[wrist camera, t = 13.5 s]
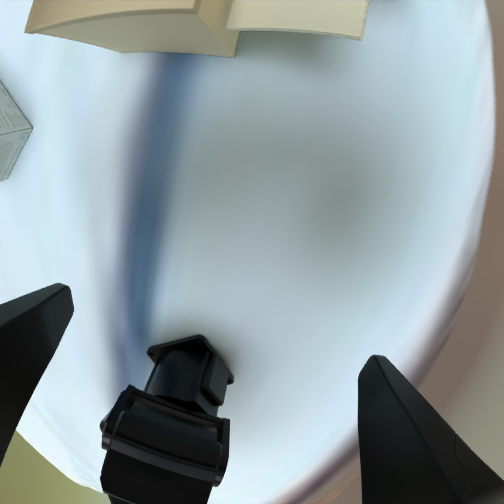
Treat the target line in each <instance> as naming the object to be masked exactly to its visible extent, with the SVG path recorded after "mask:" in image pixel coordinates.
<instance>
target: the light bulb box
mask: <svg viewBox="0 0 504 504" xmlns="http://www.w3.org/2000/svg"><path fill="white" fill-rule="evenodd" d="M32 129H33V127H32V126H31V125H30V124H29V122H28V121H27V120H26V118H25V117H24V115H23V114H22V113H21V111H20V110H19V108H18V107H17V105H16V104H15V103H14V101H13V100H12V98H11V97H10V95H9V94H8V92H7V91H6V89H5V88H4V86H3V85H2V83H1V82H0V182H1V181H3V180H5V179H7V178H8V177H9V175H10V173H11V170H12V168H13V166H14V164H15V162H16V160H17V158H18V156H19V154H20V152H21V150H22V148H23V146H24V144H25V142H26V140H27V138H28V136H29V134H30V133H31V131H32Z"/></svg>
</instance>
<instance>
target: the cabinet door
mask: <svg viewBox="0 0 504 504" xmlns="http://www.w3.org/2000/svg"><path fill="white" fill-rule="evenodd" d="M368 4H369V0H233V3H232V7H231V10H230V14H229V18H228V22H227V26H226V29H229V30H231V31H240V30H261V31H287V32H300V33H311V34H320V35H328V36H335V37H342V38H348V39H354V40H359V41H362V38H363V32H364V27H365V21H366V15H367V10H368Z"/></svg>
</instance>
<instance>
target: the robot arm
mask: <svg viewBox="0 0 504 504" xmlns="http://www.w3.org/2000/svg"><path fill="white" fill-rule="evenodd" d="M73 312H74V305H73V300H72V294H71V289H70V287H69V286H67V285H64V284H62V283H56V284H53V285H50V286H47V287H45V288H42V289H39V290H37V291H34V292H31V293H29V294H26V295H24V296H21V297H18V298H16V299H13V300H11V301H8V302H6V303H3V304H1V305H0V466H1V464H2V461H3V459H4V456H5V453H6V451H7V448H8V446H9V443H10V441H11V439H12V436H13V434H14V432H15V430H16V427H17V425H18V423H19V421H20V419H21V416H22V414H23V412H24V410H25V408H26V406H27V404H28V402H29V400H30V398H31V396H32V394H33V392H34V390H35V388H36V386H37V384H38V383H39V381H40V379H41V377H42V375H43V373H44V371H45V370H46V368H47V366H48V364H49V363H50V361H51V359H52V357H53V355H54V353H55V351H56V349H57V347H58V345H59V343H60V341H61V338H62V336H63V334H64V332H65V330H66V328H67V326H68V324H69V322H70V320H71V318H72V315H73ZM198 340H199V341H198ZM200 341H201V342H200ZM147 355H148V356H149V357H150V358H151V359H152V361H153V362H154V363H155V366H154V368H153V370H152V373H151V375H150V377H149V380H148V382H147V384H146V387H145V389H144V391H141V390H139V389H137V388H135V387H134V386H132V385H130V384H129V385H128V387H127V389H126V390H125V391H123V392H121V393H120V395H119V397H118V399H117V402H116V403H115V405H114V407H113V408H112V409H111V411H110V412H109V413H108V414H107V415H106V416H105V418H104V419H103V420H102V421H101V423H100V429H101V431H102V449H105V450H107V453H106V456H105V460H104V463H103V467H102V470H101V477H100V481H101V485H102V489H103V492H104V493H106V494H108V496H109V499H110V502H111V504H207V502H208V499H209V496H210V493H211V490H212V487H213V486H214V487H217V486H219V485H220V483H221V481H222V479H223V477H224V474H225V471H226V468H227V463H228V458H229V435H230V419H226V418H219V417H217V413H218V408H219V406H222V405H223V403H224V397H225V392H226V387H227V385H229V384H232V383H233V382H234V377H233V376H232V375H231V373H230V372H229V370H228V368H227V367H226V366H225V364H224V363H223V362H222V360H221V359H220V357H219V356H218V355H217V354H216V353H215V352H214V350H213V349H212V348H211V346H210V345H209V343H208V342H207V341H206V339H205V338H204V337H203V336H200V335H197V336H193V337H189V338H186V339H182V340H178V341H174V342H170V343H166V344H162V345H158V346H154V347H150V348H148V350H147ZM358 435H359V448H360V464H361V486H362V504H504V480H502V479H501V478H500V477H499V476H498V475H497V474H496V473H495V472H494V471H493V470H492V469H491V468H490V467H489V466H488V465H487V464H485V463H484V462H483V461H482V460H481V459H480V458H479V457H478V456H477V455H476V454H475V453H474V452H473V451H472V450H471V449H470V448H469V447H468V446H467V444H466V443H465V442H464V441H463V440H462V439H461V438H460V437H459V435H458V434H455V431H454V430H453V429H452V428H451V427H450V426H449V425H448V423H447V422H446V421H445V420H444V419H443V418H442V417H441V416H440V415H439V414H438V412H437V411H436V410H435V409H434V408H433V407H432V406H431V405H430V404H429V403H428V401H426V399H425V398H424V397H423V396H422V395H421V394H420V393H419V392H418V391H417V390H416V389H415V387H414V386H413V385H412V384H411V383H410V382H409V381H408V380H407V379H406V378H405V377H404V376H403V375H402V374H401V372H400V371H399V370H398V369H397V368H396V367H395V366H394V365H393V364H392V363H391V362H390V361H389V360H388V359H387V358H386V357H385V356H382V355H372V356H370V358H369V359H368V361H367V362H366V364H365V365H364V367H363V368H362V370H361V372H360V374H359V377H358Z"/></svg>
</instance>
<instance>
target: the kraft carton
mask: <svg viewBox="0 0 504 504" xmlns="http://www.w3.org/2000/svg"><path fill="white" fill-rule="evenodd" d="M232 3H233V0H34V1H33V4H32V7H31V10H30V13H29V17H28V20H27V24H26V27H25V31H24V33H29V34H34V33H37V34H44V35H49V36H55V37H60V38H65V39H70V40H74V41H79V42H83V43H87V44H91V45H95V46H99V47H103V48H106V49H110V50H113V51H117V52H120V53H125V52H170V53H190V54H203V55H213V56H223V57H231V58H234V55H235V50H236V46H237V42H238V38H239V34H240V31H231V30H229V29H226V26H227V22H228V18H229V14H230V10H231V7H232Z"/></svg>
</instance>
